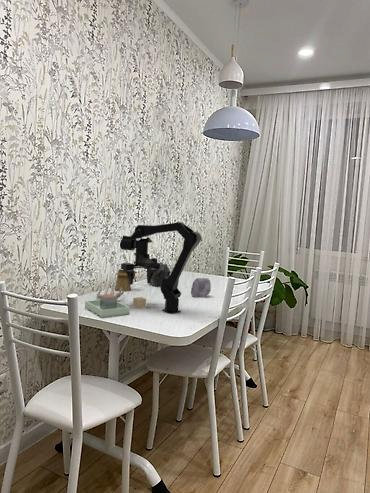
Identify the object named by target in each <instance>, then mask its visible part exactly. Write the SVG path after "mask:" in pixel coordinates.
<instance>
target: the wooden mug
mask: <svg viewBox="0 0 370 493" xmlns="http://www.w3.org/2000/svg"><path fill="white" fill-rule="evenodd" d="M133 271H134V273H133V280H135V277H136V271H135V268H134V269H133ZM114 286H115V287H114V291H117V292H119V290H120V289H121V288H122V291H123V290H124V292H129V291H131V289H132V285H131V284H130V281H129V278H128V276H127V274H126V272H125V271H123V269H118V272H117V273H116V283H115V285H114ZM122 291H121V292H122Z"/></svg>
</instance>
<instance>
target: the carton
mask: <svg viewBox="0 0 370 493" xmlns="http://www.w3.org/2000/svg"><path fill="white" fill-rule="evenodd" d="M132 299H133V301H132V302H133V303H132V306H133V307H135V308H136V309H139V308H146V307H147V298H145V297H142V296H139V297H136V296H135V297H133V298H132Z"/></svg>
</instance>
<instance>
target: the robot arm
mask: <svg viewBox="0 0 370 493" xmlns="http://www.w3.org/2000/svg"><path fill="white" fill-rule="evenodd" d="M168 232H177V233H178V234H179V235H180V236H181V237H182V238H183V244H182V246H183V247H182V249H181V252H180V254H179V256H178V258H177V260H176V262H175V264H174V266H173V268H172V271H170V272H171V273H170V276H168V277H165V278H164V279H163V282H162V284H161V285H159V286H160V292H161V293H162V295H163V299H164V301H165V302H164V308H162V311H164V312H166V313H168V314H175V313H181V312H182V310H180V309H179V308H180V306H179V305H180V304H179V303H180V299H179V298H180V297H181V295H182V292H181V291H180V290H179V288H178V287H179V281H180V276H181V275H182V273H183V270H184V269H185V266H186V265H187V262H188V261H189V259H190V256H191V254H192V253H193V251H194V250H195V249H196V248H197V247H198V245H199V244H200V243H201V241H202V235H201V234H200V232H199V231H194V230H193V229H192V228H191V227H189V226H187V225H186V224H185V223H184V222H183V221H176V222H173V223H163V224H157V225H152V224H139V225H136V226H135V229H134V231H133V233H132V234H131V235H129V236H127V235H122V238H121V240H120V242H119V248H120V249H121V250H124V251H134V250H135V252H134V253H133V255H134V257H135V260H134V261H133V263H130V262H122V263H121V264H120V270H123V271H125V272H126V274H127V276H128V278H129V281H130V284H131V286H133V283H134V279H133V273H134V271H135V269H144V270H146V283H147V284H150V280H151V278H152V276H153V274H154V272H155V271H157V269H160V264H159V263H160V262H158V258H156V257H153V258H150V254H149V244H150V243H153V240H152V239H151V238H150V236H153V235H156V234H159V233H160V234H162V233H168ZM133 269H134V271H133Z"/></svg>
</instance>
